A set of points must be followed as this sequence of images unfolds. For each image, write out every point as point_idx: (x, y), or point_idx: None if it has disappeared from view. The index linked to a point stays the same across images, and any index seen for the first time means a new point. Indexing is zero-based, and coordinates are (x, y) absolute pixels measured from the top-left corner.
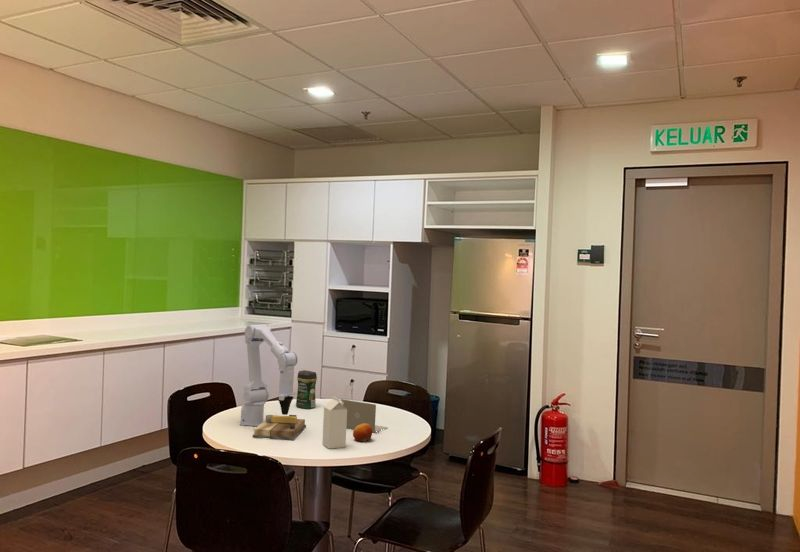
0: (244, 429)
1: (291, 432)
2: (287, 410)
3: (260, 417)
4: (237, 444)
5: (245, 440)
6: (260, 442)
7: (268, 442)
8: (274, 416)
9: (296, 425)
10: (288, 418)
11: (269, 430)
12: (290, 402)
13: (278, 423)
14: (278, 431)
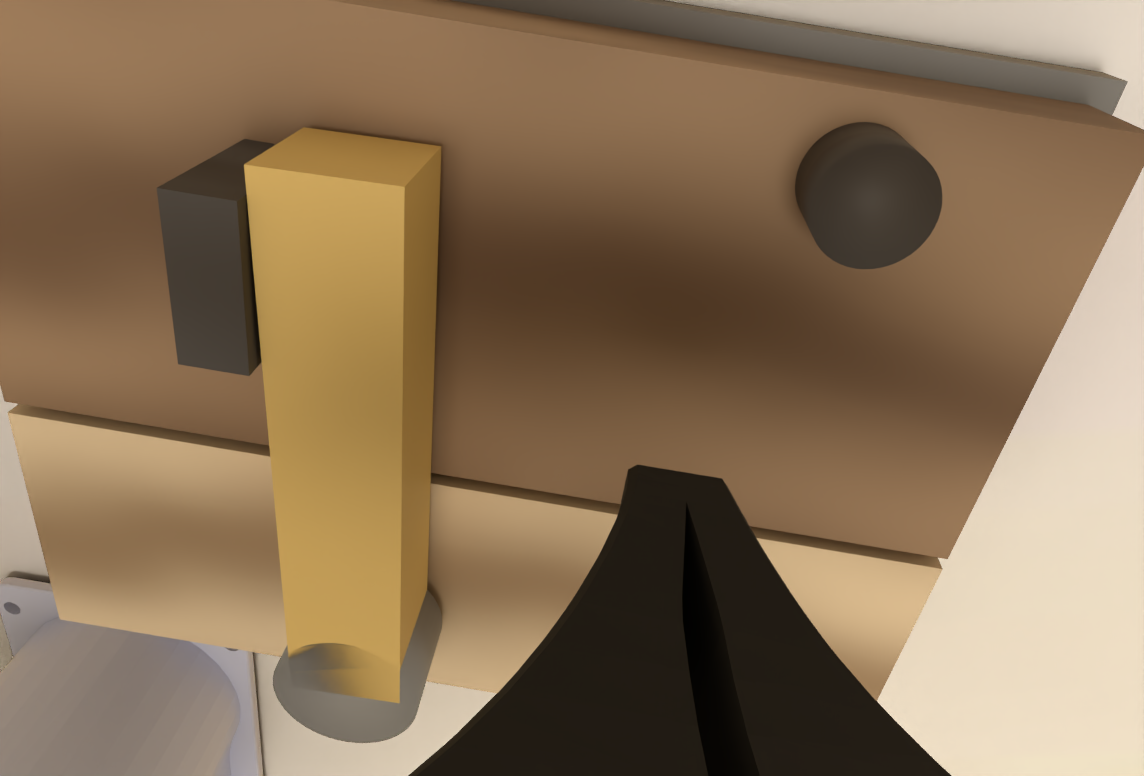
0: (430, 747)
1: (1120, 172)
2: (763, 560)
3: (131, 714)
4: (1132, 772)
5: (955, 716)
6: (1099, 569)
7: (1127, 476)
8: (381, 625)
9: (563, 105)
10: (407, 356)
11: (932, 571)
12: (680, 726)
13: (447, 473)
14: (999, 431)
